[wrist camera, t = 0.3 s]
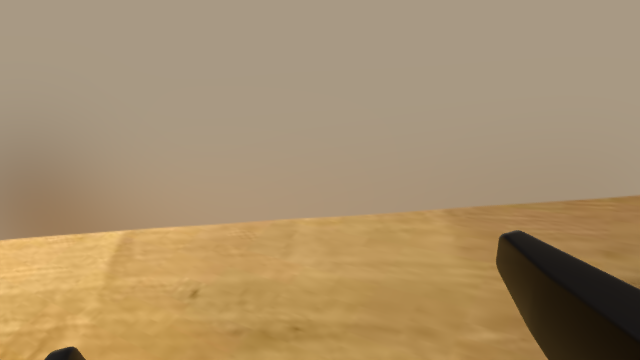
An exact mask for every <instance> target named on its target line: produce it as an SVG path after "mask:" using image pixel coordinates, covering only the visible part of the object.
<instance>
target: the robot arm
mask: <svg viewBox="0 0 640 360" xmlns="http://www.w3.org/2000/svg"><path fill="white" fill-rule="evenodd" d="M496 265H497V268H498V271H499V273H500V275H501V277H502V279H503V281H504V283H505V285H506V287H507V288H508V290H509V292H510V294H511V296H512V298H513V300H514V302H515V304H516V306H517V308H518V310H519V312H520V314H521V315H522V317H523V319H524V321H525V323H526V325H527V327H528V329H529V330H530V332H531V334H532V335H533V337H534V339H535V340H536V342H537V343H538V345H539V346H540V348H541V349H542V351H543V352H544V354H545V355H546V357H547V358H548V360H640V289H638V288H636V287H634V286H632V285H630V284H628V283H626V282H624V281H622V280H620V279H618V278H616V277H614V276H612V275H610V274H608V273H606V272H604V271H602V270H600V269H597V268H595V267H593V266H591V265H589V264H587V263H585V262H583V261H581V260H579V259H577V258H575V257H573V256H571V255H569V254H567V253H565V252H563V251H561V250H559V249H557V248H555V247H553V246H551V245H549V244H547V243H545V242H543V241H541V240H539V239H537V238H535V237H533V236H531V235H529V234H527V233H525V232H522V231H519V230H517V231H512V232H508V233H504V234H502V235H501V236H500V237H499V243H498V250H497V257H496ZM45 360H85V358H84V357H83V356H82V355H81V353H80V352H79V351H78V349H77V348H75V347H67V348H63V349H59V350H55V351H53V352H51V353H50V354H49V355H48V356H47V357H46V358H45Z"/></svg>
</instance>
